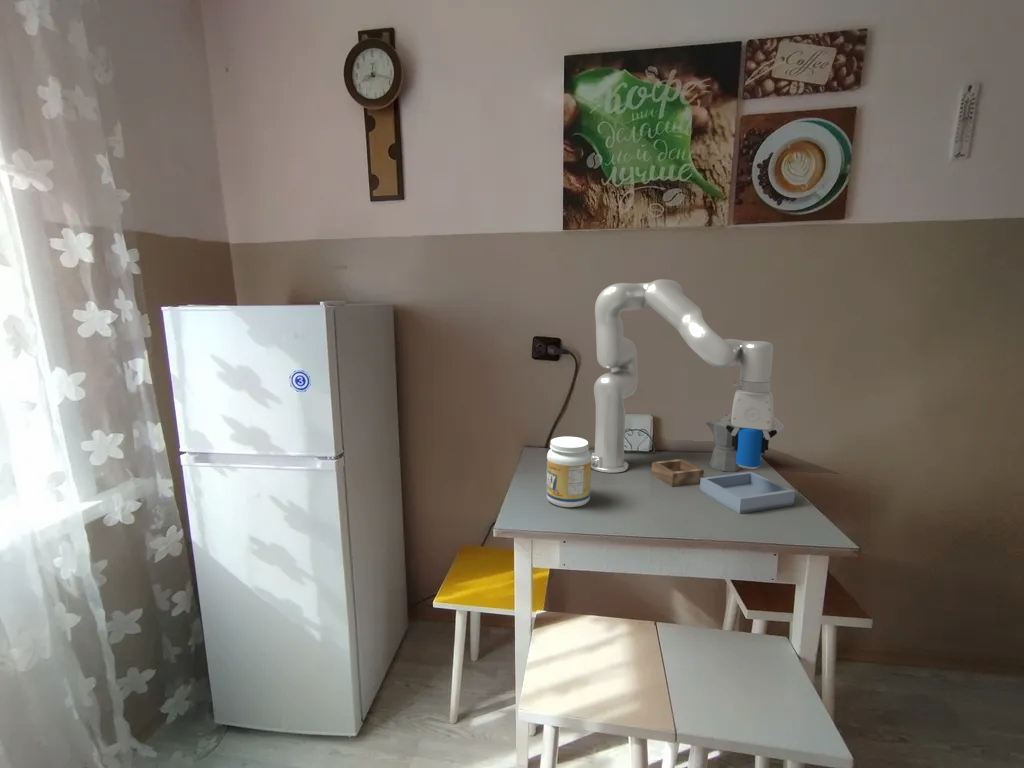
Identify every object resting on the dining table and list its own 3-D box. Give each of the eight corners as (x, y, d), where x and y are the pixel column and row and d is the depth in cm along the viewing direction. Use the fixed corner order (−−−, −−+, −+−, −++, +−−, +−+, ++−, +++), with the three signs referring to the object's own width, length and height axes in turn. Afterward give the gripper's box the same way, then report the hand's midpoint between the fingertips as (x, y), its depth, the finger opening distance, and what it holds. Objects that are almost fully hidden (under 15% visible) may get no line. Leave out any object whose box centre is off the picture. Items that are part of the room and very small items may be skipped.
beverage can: (758, 471, 136) (761, 428, 134) (732, 466, 140) (735, 424, 138) (763, 465, 141) (766, 423, 139) (738, 460, 145) (741, 420, 143)
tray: (739, 513, 132) (740, 499, 131) (699, 491, 147) (700, 478, 146) (793, 505, 137) (795, 491, 136) (749, 484, 152) (750, 471, 151)
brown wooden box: (672, 486, 150) (672, 473, 150) (651, 474, 161) (651, 462, 160) (703, 482, 154) (703, 470, 153) (680, 470, 164) (681, 458, 163)
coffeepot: (702, 469, 165) (706, 416, 162) (703, 460, 174) (707, 409, 171) (754, 475, 159) (759, 420, 156) (753, 466, 168) (757, 414, 165)
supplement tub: (539, 495, 144) (539, 437, 141) (577, 489, 149) (578, 433, 146) (558, 511, 133) (559, 450, 130) (598, 504, 137) (600, 445, 134)
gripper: (718, 386, 137) (714, 450, 140) (791, 391, 129) (785, 459, 132) (721, 382, 144) (717, 443, 147) (790, 387, 136) (784, 451, 139)
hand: (749, 450), depth 139 cm, fingers closed on beverage can, 6 cm apart
